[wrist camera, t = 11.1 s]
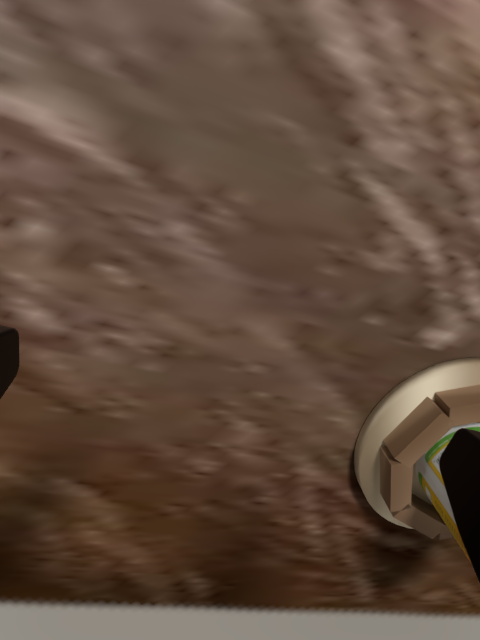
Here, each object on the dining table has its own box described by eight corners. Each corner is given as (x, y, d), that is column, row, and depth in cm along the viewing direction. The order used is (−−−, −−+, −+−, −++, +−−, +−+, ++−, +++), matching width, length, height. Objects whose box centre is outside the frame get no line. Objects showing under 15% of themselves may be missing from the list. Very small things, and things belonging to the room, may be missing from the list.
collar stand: (355, 532, 29) (370, 567, 26) (351, 377, 24) (368, 403, 22) (530, 499, 29) (558, 530, 27) (560, 340, 24) (599, 362, 22)
